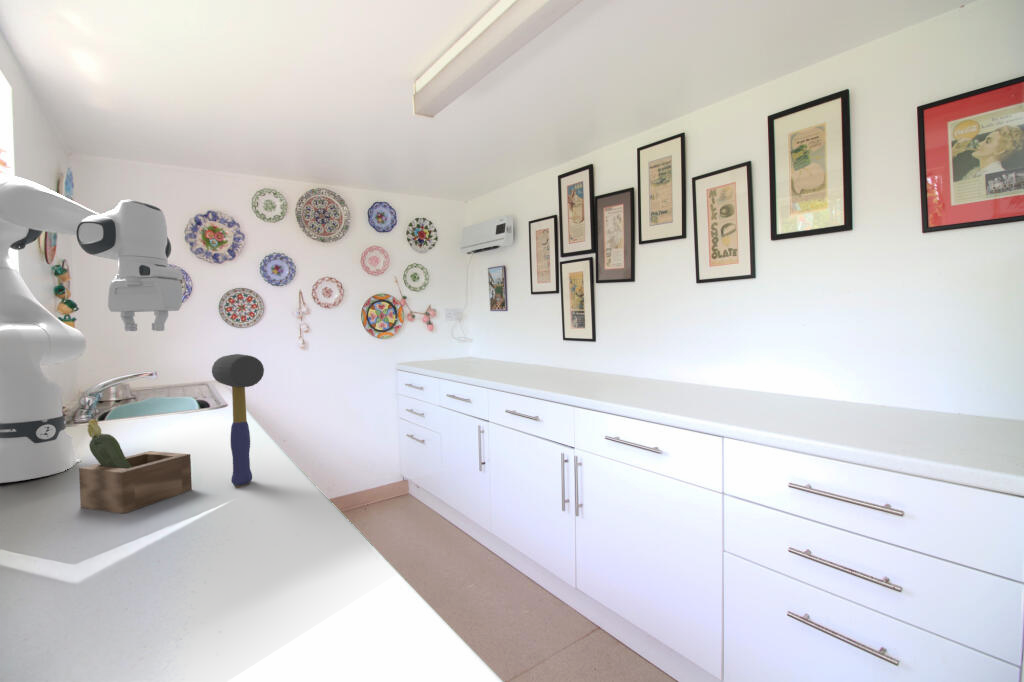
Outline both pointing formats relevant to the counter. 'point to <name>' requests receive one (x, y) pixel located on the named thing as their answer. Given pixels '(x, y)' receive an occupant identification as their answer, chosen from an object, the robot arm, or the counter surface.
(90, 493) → the socket block
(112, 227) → the robot arm
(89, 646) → the counter surface
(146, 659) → the counter surface
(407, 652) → the counter surface
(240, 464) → the rubber mallet
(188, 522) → the counter surface
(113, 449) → the vegetable
